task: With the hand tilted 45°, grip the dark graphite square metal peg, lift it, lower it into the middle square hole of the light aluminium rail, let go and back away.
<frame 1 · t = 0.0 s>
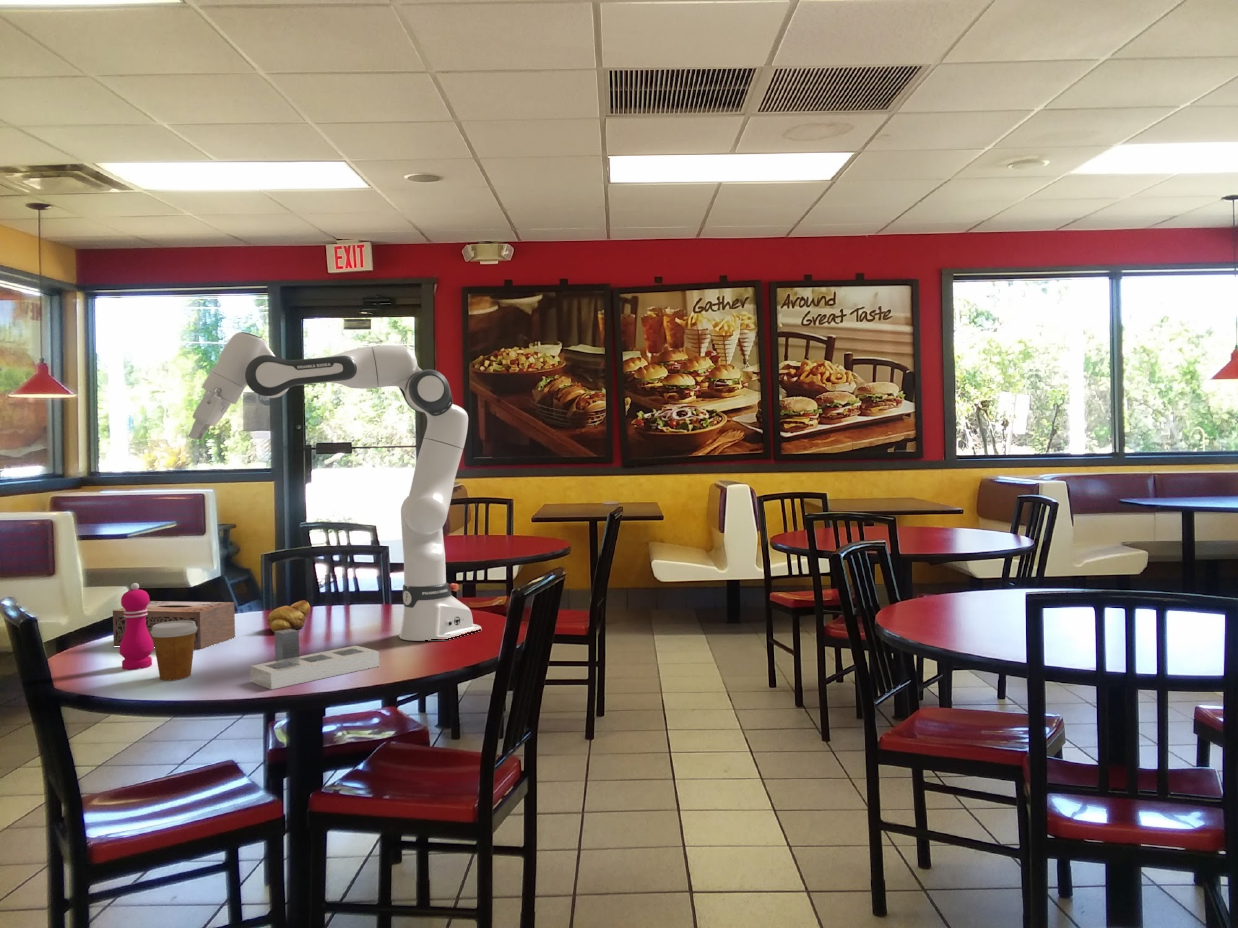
hand: (194, 438, 223), 54 cm above the table, tool tilted 30°, fingers open, 8 cm apart
bread roll: (285, 630, 254), on the table
peg: (287, 664, 211), on the table
disposable coffee cup: (175, 677, 201), on the table
tissue box cover: (175, 644, 240), on the table
rail: (316, 673, 202), on the table
pepper mill: (137, 667, 212), on the table
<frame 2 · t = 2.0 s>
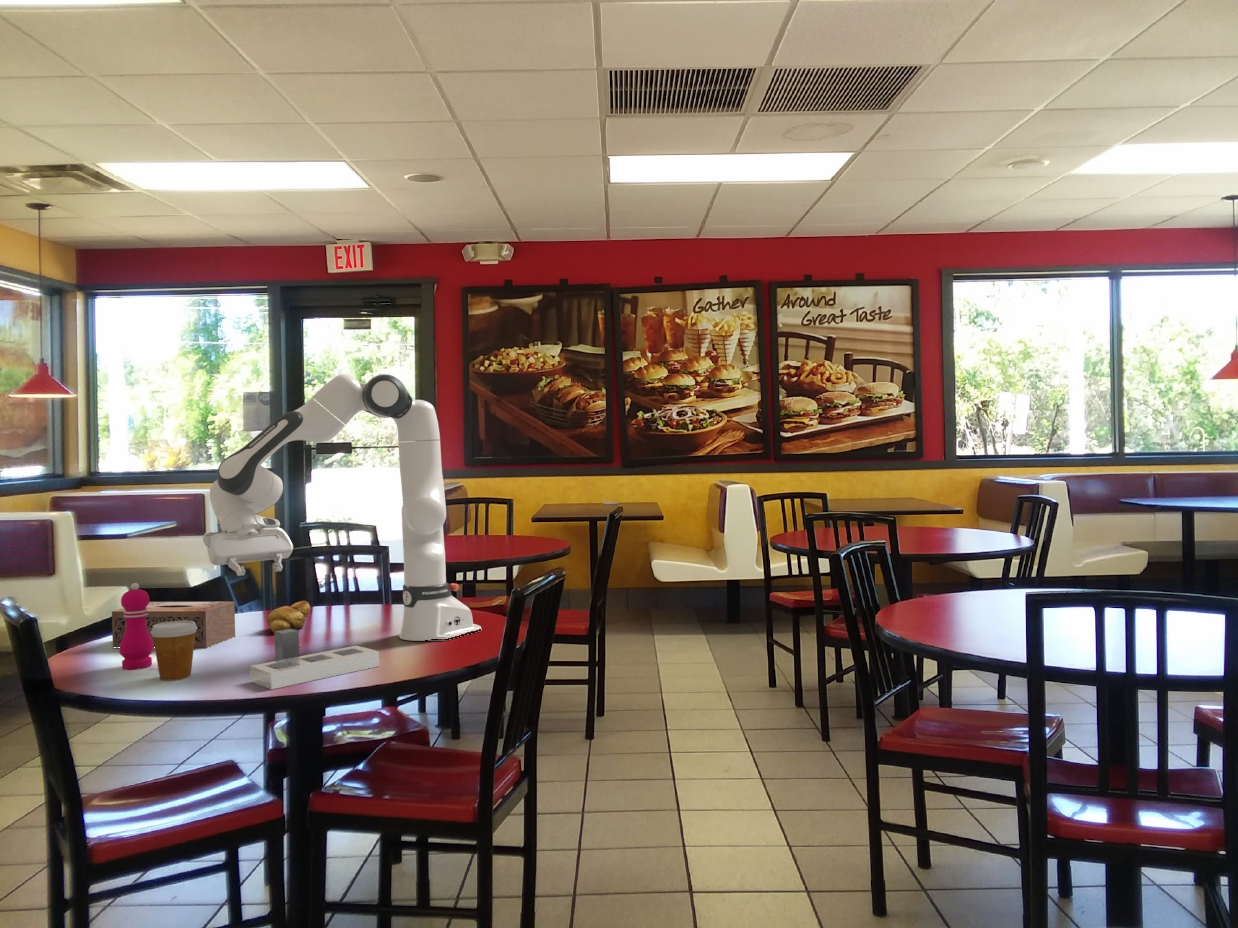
hand: (260, 571, 219), 21 cm above the table, tool tilted 45°, fingers open, 8 cm apart
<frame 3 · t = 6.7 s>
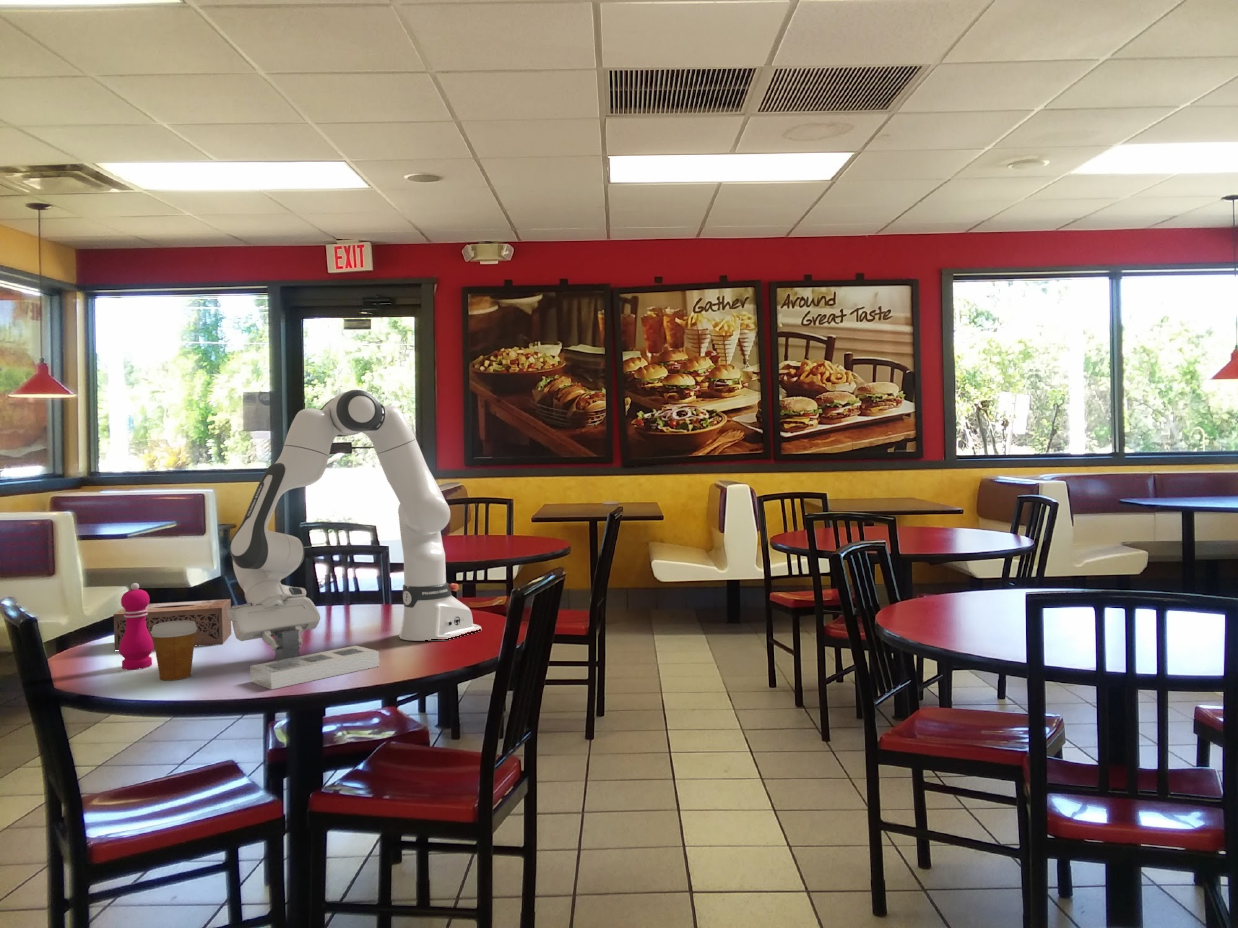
hand: (288, 646, 211), 4 cm above the table, tool tilted 45°, fingers closed on peg, 4 cm apart
peg: (287, 664, 211), on the table, touching gripper
when the fingers open (6 cm above the table, at t = 12.9 s): peg drops 2 cm, resting in rail.
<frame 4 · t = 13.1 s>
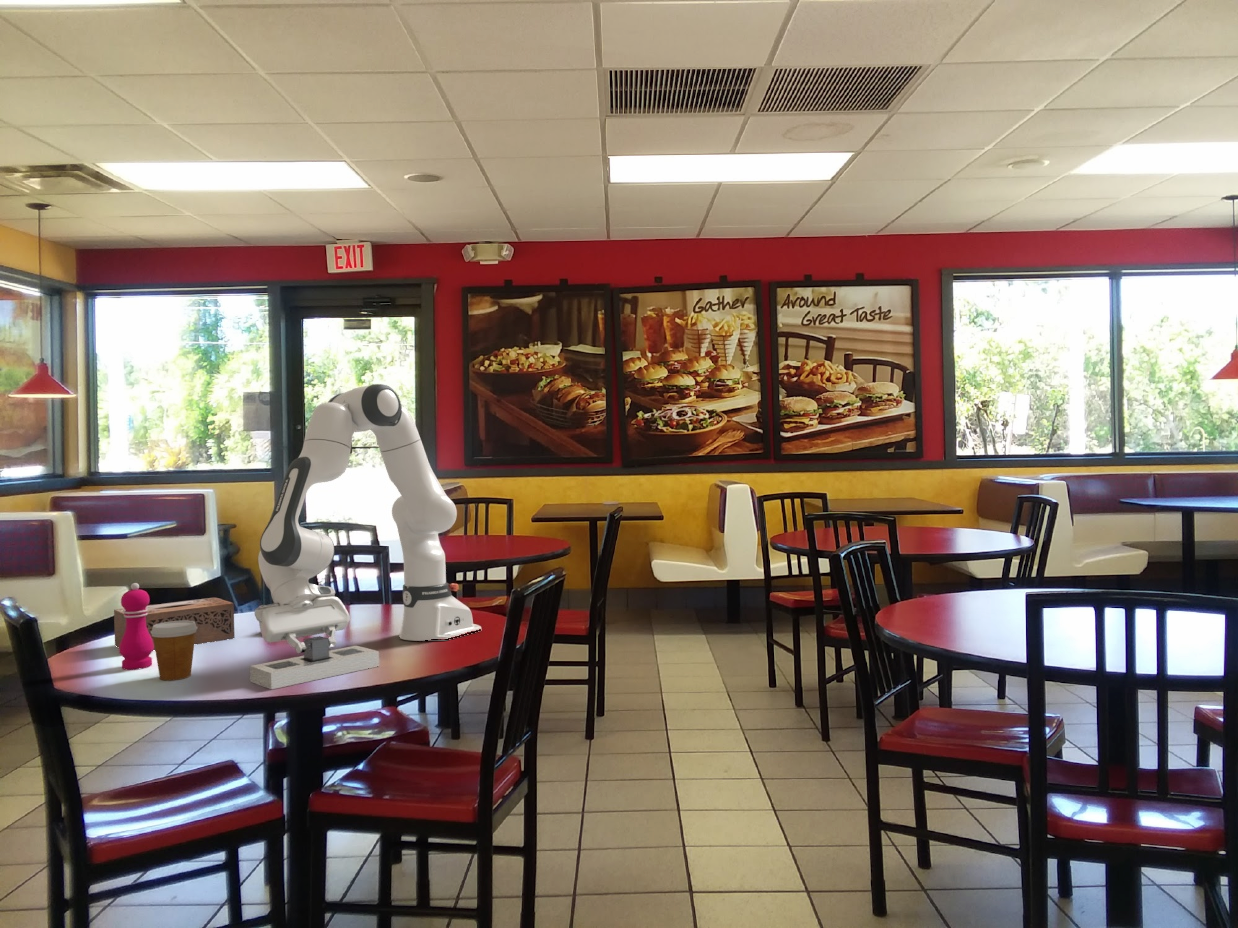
hand: (317, 648, 201), 6 cm above the table, tool tilted 45°, fingers open, 6 cm apart
peg: (316, 673, 202), resting in rail
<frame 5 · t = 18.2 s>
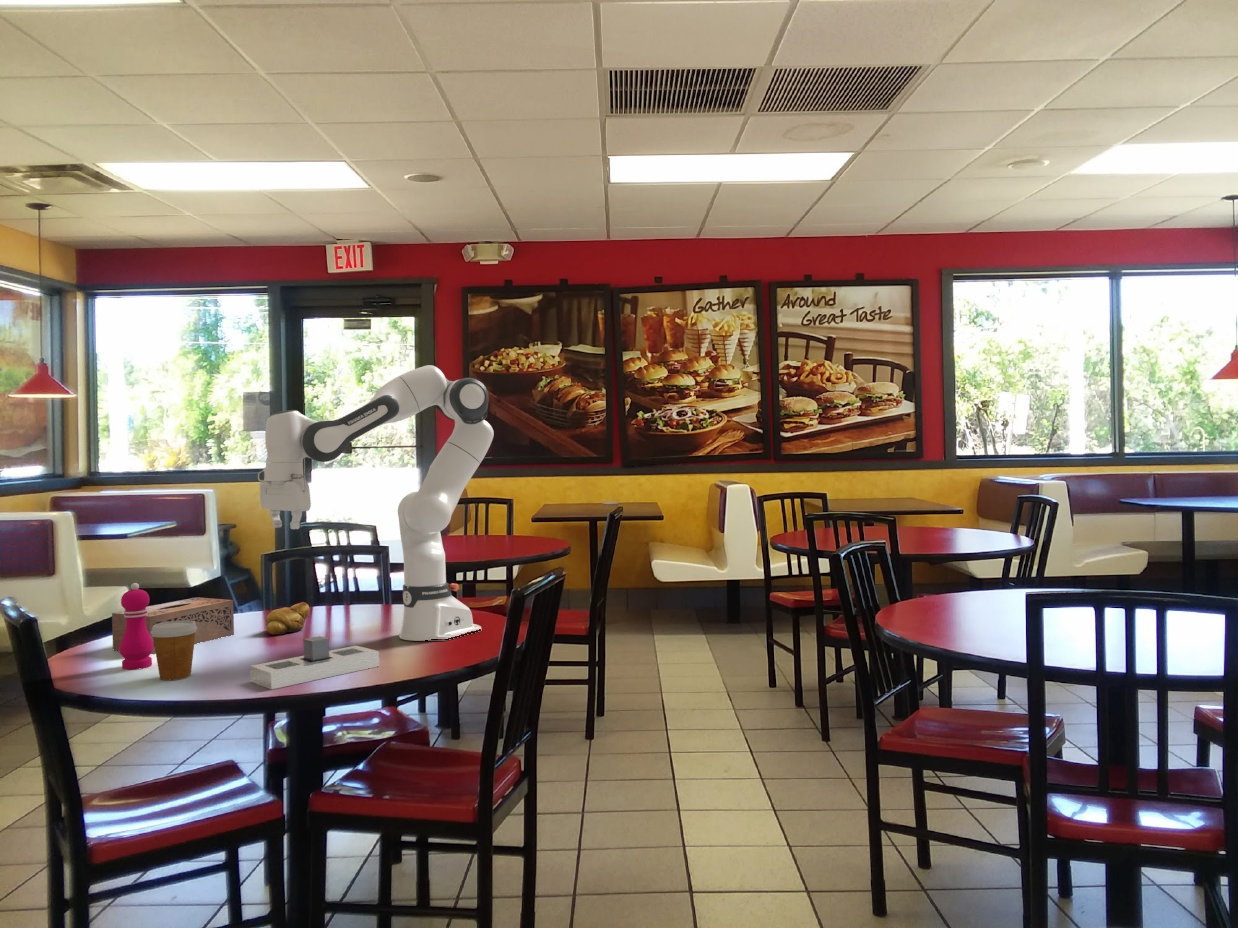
hand: (286, 528, 227), 31 cm above the table, tool pointing down, fingers open, 8 cm apart
at the end: peg 0.0 cm off-centre on the rail, point 0.0 cm above the rail's base; peg tilted 0°; the gripper is holding nothing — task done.
